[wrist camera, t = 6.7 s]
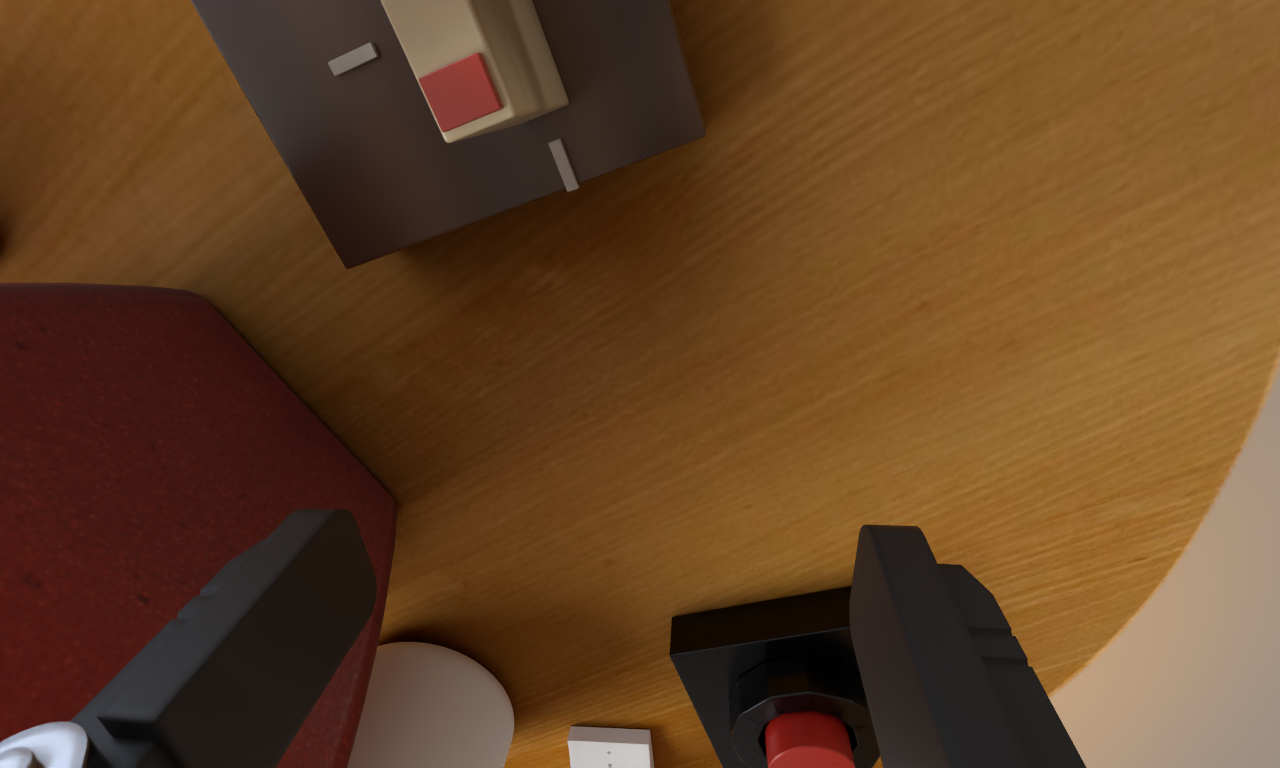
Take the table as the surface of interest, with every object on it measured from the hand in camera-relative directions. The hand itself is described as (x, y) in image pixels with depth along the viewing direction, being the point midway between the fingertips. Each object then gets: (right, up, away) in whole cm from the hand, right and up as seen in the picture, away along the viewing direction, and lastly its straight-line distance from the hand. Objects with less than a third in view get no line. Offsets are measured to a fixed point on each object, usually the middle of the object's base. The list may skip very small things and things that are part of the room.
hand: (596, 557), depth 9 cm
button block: (+8, -11, +20) cm, 25 cm away
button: (+8, -13, +17) cm, 23 cm away
